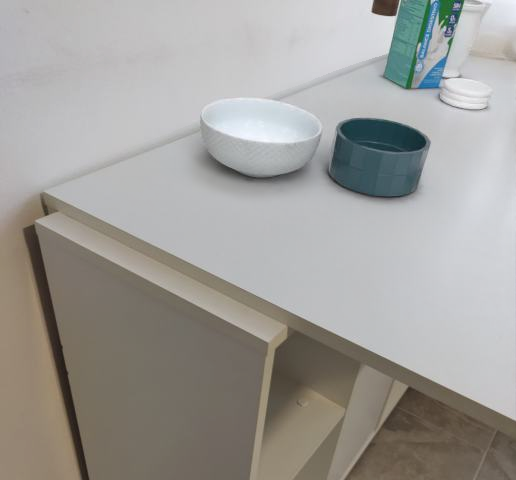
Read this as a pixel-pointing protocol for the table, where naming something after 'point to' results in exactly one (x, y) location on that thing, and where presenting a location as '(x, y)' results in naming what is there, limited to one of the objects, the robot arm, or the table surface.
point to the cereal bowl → (259, 135)
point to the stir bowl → (378, 156)
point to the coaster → (465, 93)
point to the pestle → (385, 7)
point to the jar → (463, 37)
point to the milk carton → (422, 42)
